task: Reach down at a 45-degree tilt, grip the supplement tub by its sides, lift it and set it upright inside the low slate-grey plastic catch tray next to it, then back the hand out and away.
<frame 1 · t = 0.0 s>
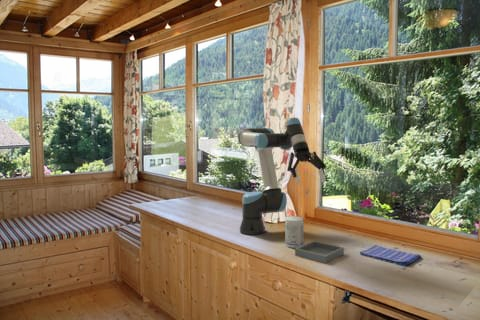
hand: (311, 182, 189), 36 cm above the worktop, tool tilted 35°, fingers open, 13 cm apart
supplement tub: (294, 245, 207), on the worktop
dish towel: (390, 257, 189), on the worktop
catch tray: (319, 254, 193), on the worktop
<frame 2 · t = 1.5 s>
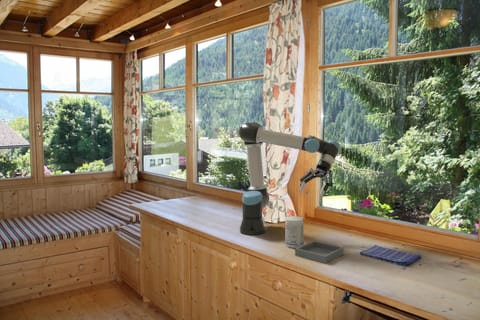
hand: (310, 193, 215), 26 cm above the worktop, tool tilted 45°, fingers open, 13 cm apart
nothing on the worktop moved.
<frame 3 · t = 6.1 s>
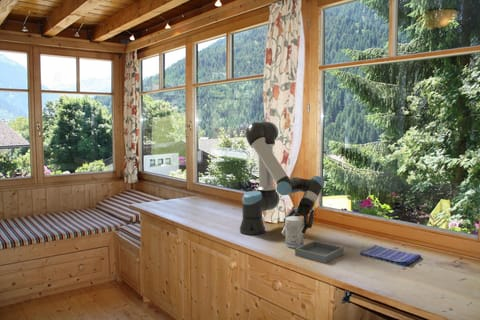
hand: (290, 235, 204), 6 cm above the worktop, tool tilted 45°, fingers closed on supplement tub, 9 cm apart
supplement tub: (294, 245, 207), on the worktop, touching gripper
everything else where it was.
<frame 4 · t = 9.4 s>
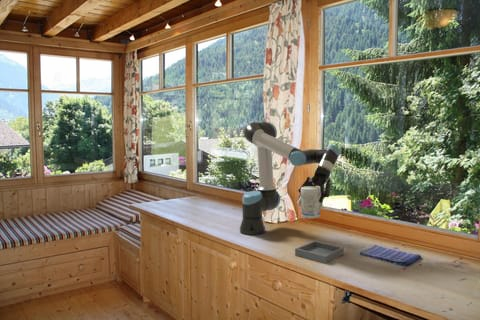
hand: (307, 206, 194), 24 cm above the worktop, tool tilted 45°, fingers closed on supplement tub, 9 cm apart
supplement tub: (310, 216, 197), point 17 cm above the worktop, touching gripper
everything else where it was.
when the fingers open (8 cm above the worktop, at t = 13.0 s): supplement tub drops 1 cm, resting on catch tray.
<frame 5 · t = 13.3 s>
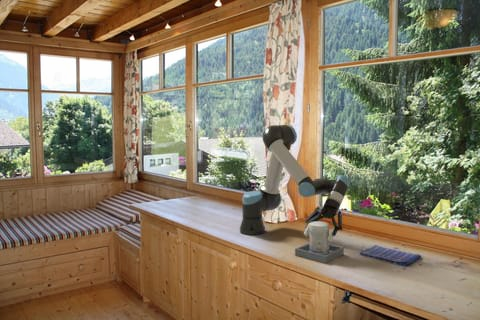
hand: (316, 238, 190), 9 cm above the worktop, tool tilted 45°, fingers open, 13 cm apart
supplement tub: (319, 253, 193), point 1 cm above the worktop, touching catch tray
everything else where it was.
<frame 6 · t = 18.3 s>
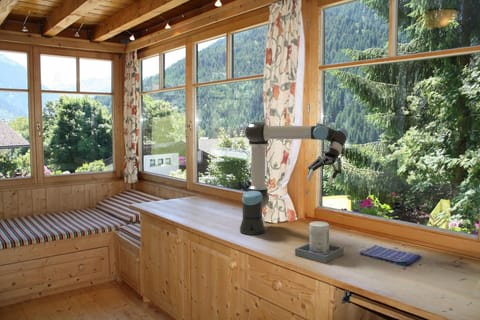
hand: (318, 181, 213), 33 cm above the worktop, tool tilted 45°, fingers open, 13 cm apart
nothing on the worktop moved.
at the end: supplement tub inside the target area on the catch tray (0.3 cm from its centre), point 0.6 cm above the catch tray's base; supplement tub tilted 0°; the gripper is holding nothing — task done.
